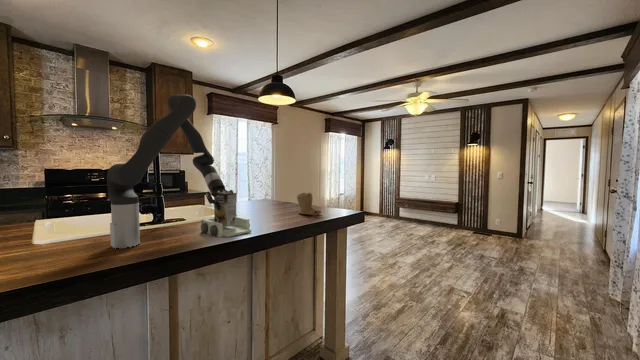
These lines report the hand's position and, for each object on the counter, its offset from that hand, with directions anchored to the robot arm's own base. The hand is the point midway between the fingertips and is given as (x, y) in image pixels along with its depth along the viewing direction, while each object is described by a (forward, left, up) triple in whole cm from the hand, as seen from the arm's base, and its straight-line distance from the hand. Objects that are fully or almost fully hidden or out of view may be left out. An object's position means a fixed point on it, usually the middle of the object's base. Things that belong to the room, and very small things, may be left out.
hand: (226, 208), depth 137 cm
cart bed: (0, -1, -12) cm, 12 cm away
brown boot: (+62, +4, -12) cm, 63 cm away
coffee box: (0, +2, -9) cm, 9 cm away
